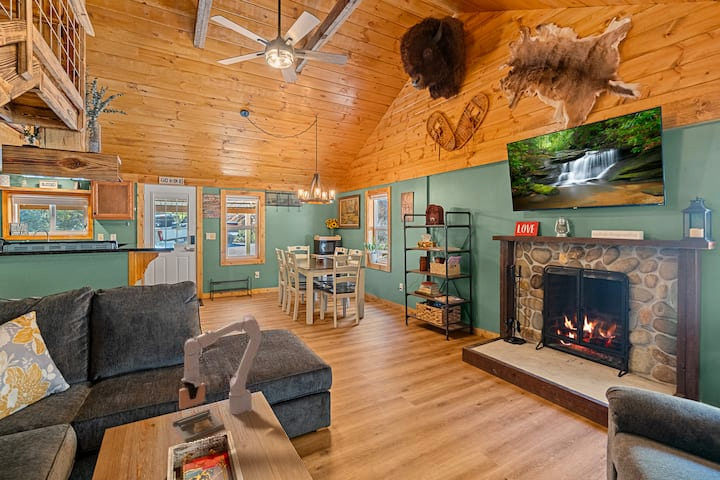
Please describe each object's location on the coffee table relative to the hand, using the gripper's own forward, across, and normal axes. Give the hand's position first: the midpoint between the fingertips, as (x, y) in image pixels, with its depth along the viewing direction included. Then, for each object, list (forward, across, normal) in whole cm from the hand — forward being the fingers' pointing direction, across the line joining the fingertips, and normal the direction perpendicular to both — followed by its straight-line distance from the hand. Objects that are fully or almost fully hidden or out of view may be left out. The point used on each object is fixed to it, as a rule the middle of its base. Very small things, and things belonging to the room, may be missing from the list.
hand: (191, 397), depth 147 cm
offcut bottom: (+9, +12, 0) cm, 15 cm away
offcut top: (+8, +12, 0) cm, 14 cm away
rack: (+10, +8, 0) cm, 13 cm away
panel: (+3, 0, 0) cm, 3 cm away
